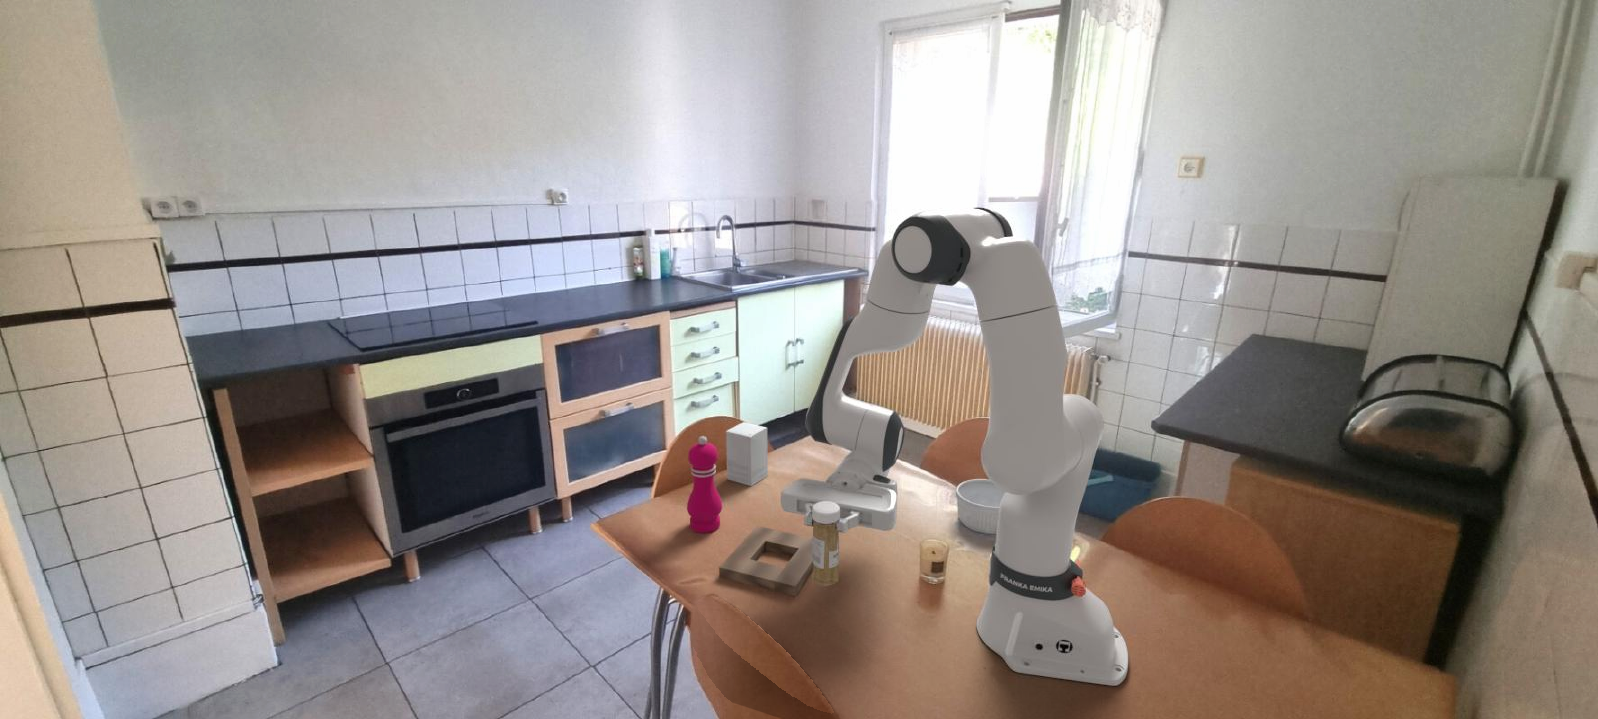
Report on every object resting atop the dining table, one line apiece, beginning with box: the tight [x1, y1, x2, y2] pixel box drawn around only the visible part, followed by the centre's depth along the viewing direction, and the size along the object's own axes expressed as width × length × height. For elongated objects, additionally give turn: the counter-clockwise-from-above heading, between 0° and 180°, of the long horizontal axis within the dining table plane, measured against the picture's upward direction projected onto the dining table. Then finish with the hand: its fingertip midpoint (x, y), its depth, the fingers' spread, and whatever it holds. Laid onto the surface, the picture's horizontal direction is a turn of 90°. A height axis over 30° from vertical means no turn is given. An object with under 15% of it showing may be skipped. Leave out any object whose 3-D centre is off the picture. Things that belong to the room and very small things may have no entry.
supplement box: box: [725, 421, 769, 487], centre depth 160 cm, size 7×7×13 cm
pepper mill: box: [686, 435, 723, 534], centre depth 137 cm, size 7×7×20 cm
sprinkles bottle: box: [812, 501, 840, 587], centre depth 110 cm, size 5×5×14 cm
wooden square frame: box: [718, 525, 813, 597], centre depth 126 cm, size 15×16×2 cm
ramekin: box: [955, 478, 1006, 535], centre depth 141 cm, size 13×13×7 cm
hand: (824, 525), depth 108 cm, fingers closed on sprinkles bottle, 4 cm apart
